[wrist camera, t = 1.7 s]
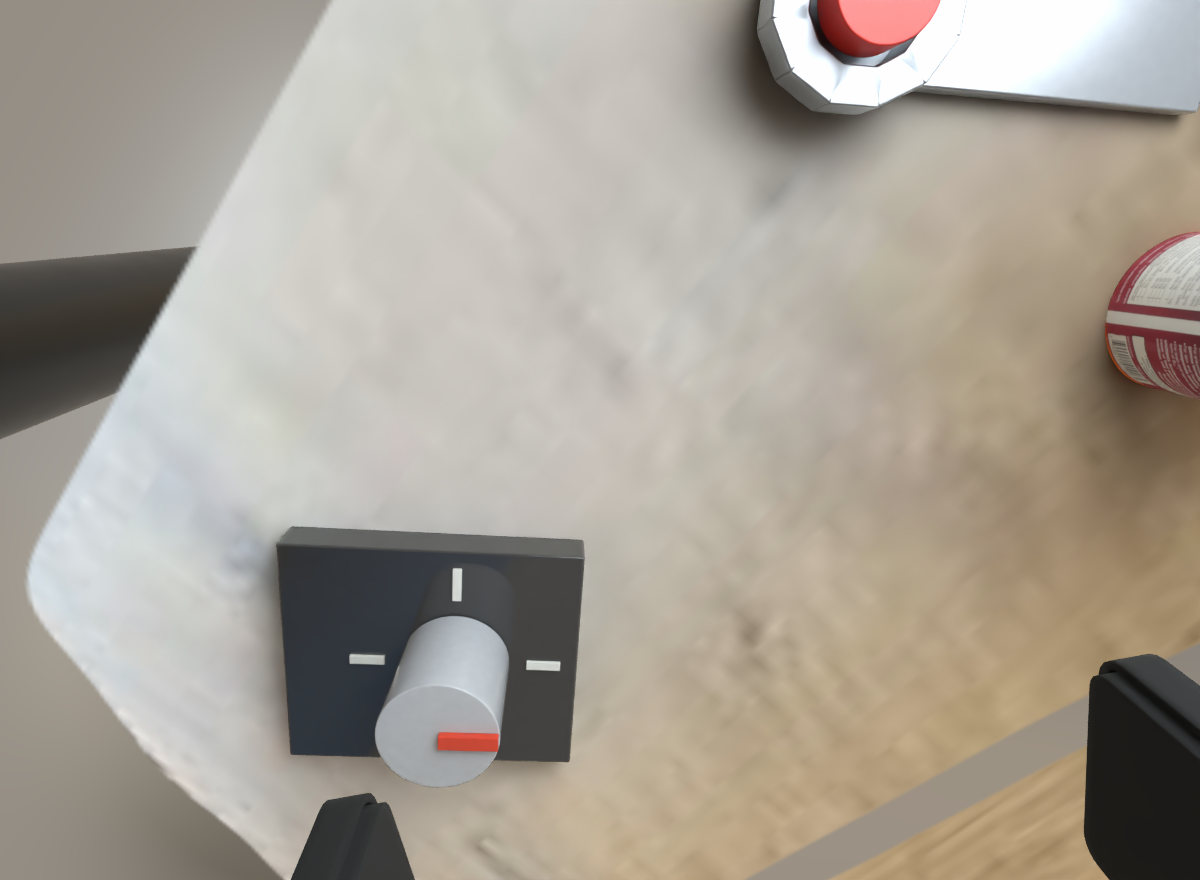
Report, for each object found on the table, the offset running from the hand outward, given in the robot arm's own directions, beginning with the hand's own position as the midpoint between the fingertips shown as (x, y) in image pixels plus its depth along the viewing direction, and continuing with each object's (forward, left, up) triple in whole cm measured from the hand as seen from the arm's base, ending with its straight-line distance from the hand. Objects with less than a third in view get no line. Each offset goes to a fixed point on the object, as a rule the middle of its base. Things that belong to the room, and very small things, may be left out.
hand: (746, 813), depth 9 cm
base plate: (-7, -11, -21) cm, 25 cm away
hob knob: (-6, -11, -18) cm, 22 cm away
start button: (+6, +14, -18) cm, 24 cm away
